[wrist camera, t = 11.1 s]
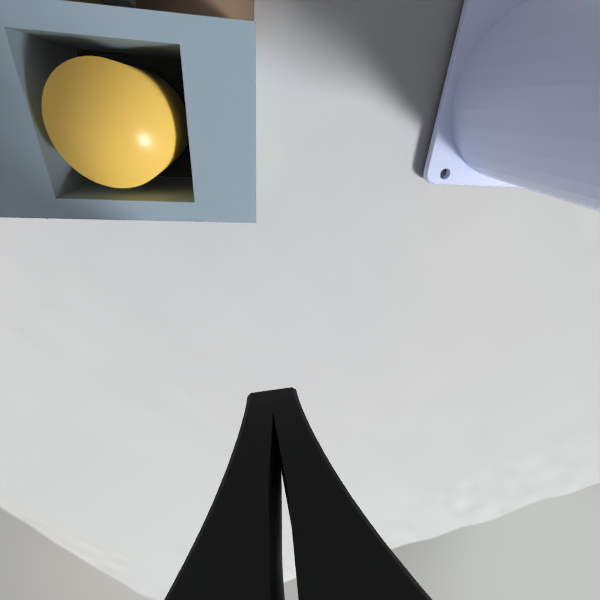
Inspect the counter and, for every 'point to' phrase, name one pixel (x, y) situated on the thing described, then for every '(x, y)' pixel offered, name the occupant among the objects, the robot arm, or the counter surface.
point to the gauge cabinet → (198, 99)
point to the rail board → (189, 7)
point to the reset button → (113, 120)
